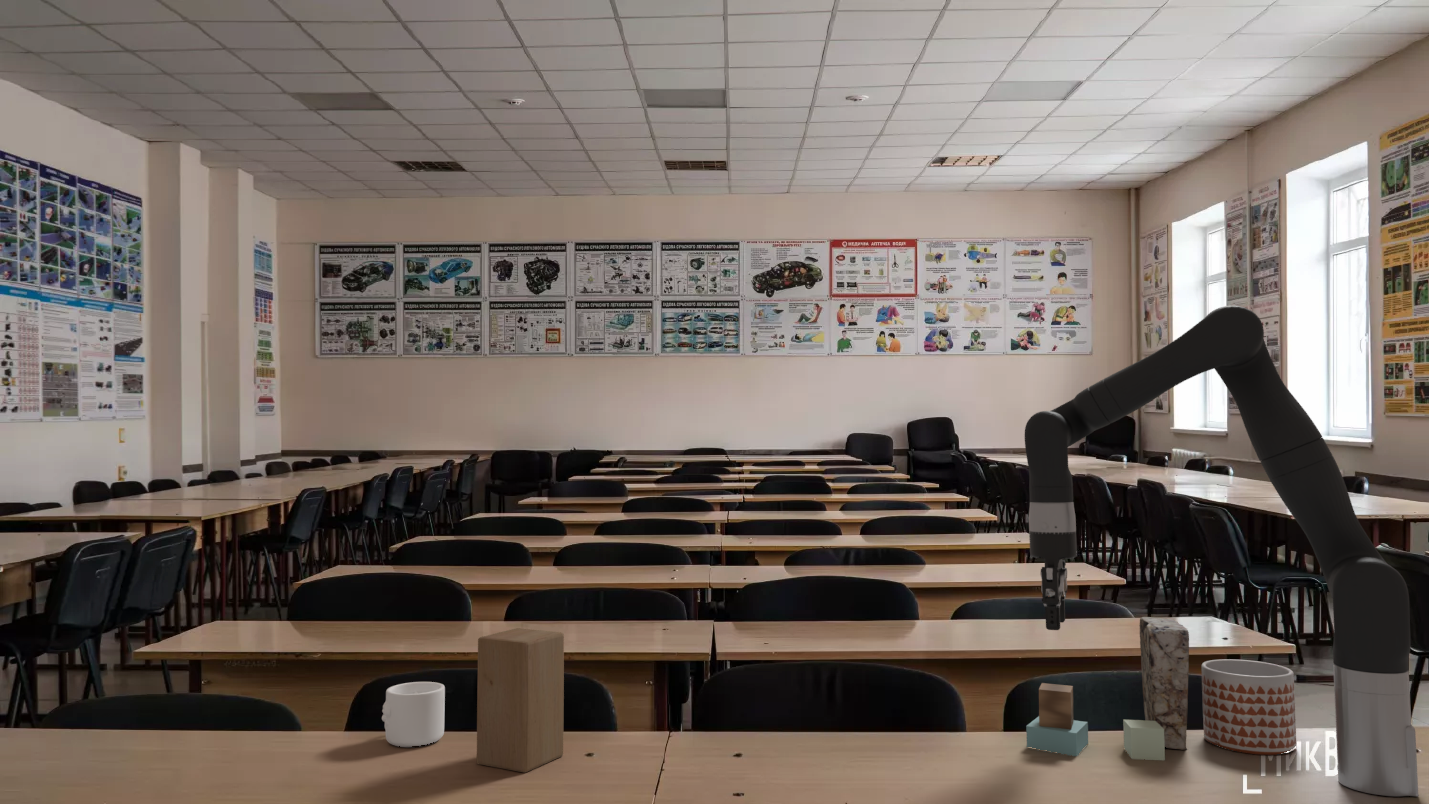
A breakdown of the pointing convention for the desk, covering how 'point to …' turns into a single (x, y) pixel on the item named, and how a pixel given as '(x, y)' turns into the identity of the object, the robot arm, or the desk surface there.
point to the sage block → (1144, 739)
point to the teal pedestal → (1058, 737)
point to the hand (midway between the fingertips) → (1055, 625)
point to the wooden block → (520, 699)
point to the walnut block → (1056, 706)
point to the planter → (1249, 706)
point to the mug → (414, 713)
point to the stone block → (1165, 677)
